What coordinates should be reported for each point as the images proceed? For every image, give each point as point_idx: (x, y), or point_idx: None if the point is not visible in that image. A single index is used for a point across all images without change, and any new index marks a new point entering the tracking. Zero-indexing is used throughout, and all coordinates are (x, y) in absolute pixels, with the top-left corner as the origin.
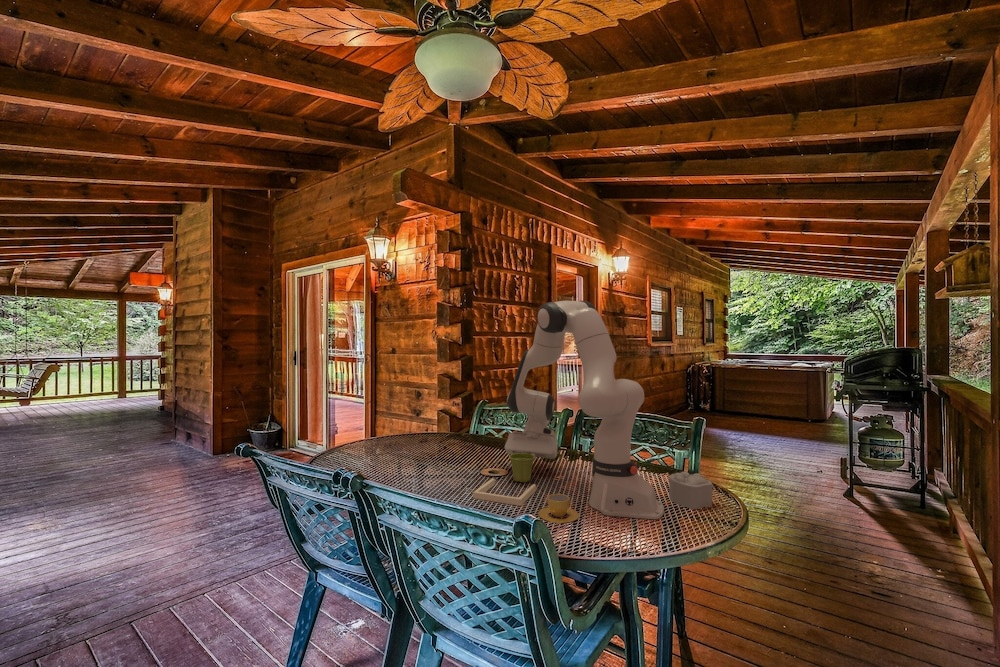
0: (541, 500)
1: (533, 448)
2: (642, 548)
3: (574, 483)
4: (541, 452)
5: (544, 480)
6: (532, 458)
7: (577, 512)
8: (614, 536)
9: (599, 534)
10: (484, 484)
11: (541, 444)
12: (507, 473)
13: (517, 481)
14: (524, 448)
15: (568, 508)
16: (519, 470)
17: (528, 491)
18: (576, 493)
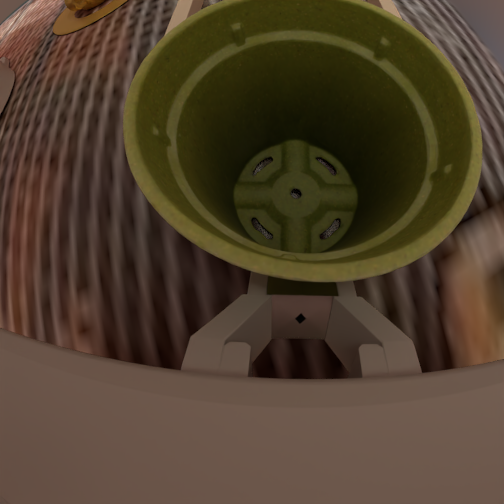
0: (137, 26)
1: (191, 443)
2: (13, 18)
3: (13, 266)
4: (54, 350)
5: (144, 254)
6: (146, 57)
7: (53, 31)
8: (29, 15)
9: (46, 4)
10: (393, 8)
11: (19, 495)
12: (442, 305)
13: (307, 142)
14: (416, 419)
15: (66, 31)
16: (290, 81)
17: (180, 1)
18: (19, 145)
